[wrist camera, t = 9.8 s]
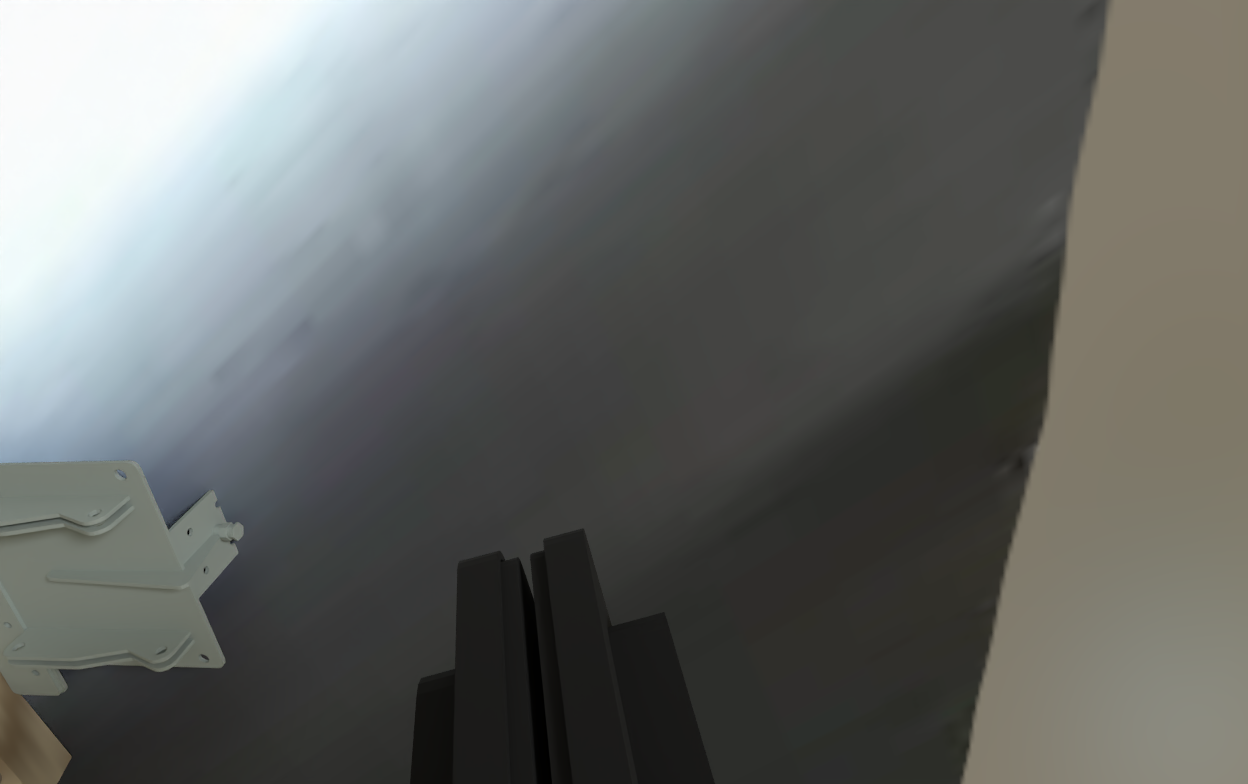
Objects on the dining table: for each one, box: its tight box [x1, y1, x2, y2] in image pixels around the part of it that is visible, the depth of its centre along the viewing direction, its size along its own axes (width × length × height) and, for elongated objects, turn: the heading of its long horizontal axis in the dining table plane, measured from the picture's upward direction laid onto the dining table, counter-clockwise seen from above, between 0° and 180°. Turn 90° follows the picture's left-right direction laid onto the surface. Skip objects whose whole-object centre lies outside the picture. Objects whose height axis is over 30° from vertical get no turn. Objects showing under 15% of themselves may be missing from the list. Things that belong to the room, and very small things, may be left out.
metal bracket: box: [0, 460, 243, 696], centre depth 37 cm, size 14×6×15 cm
